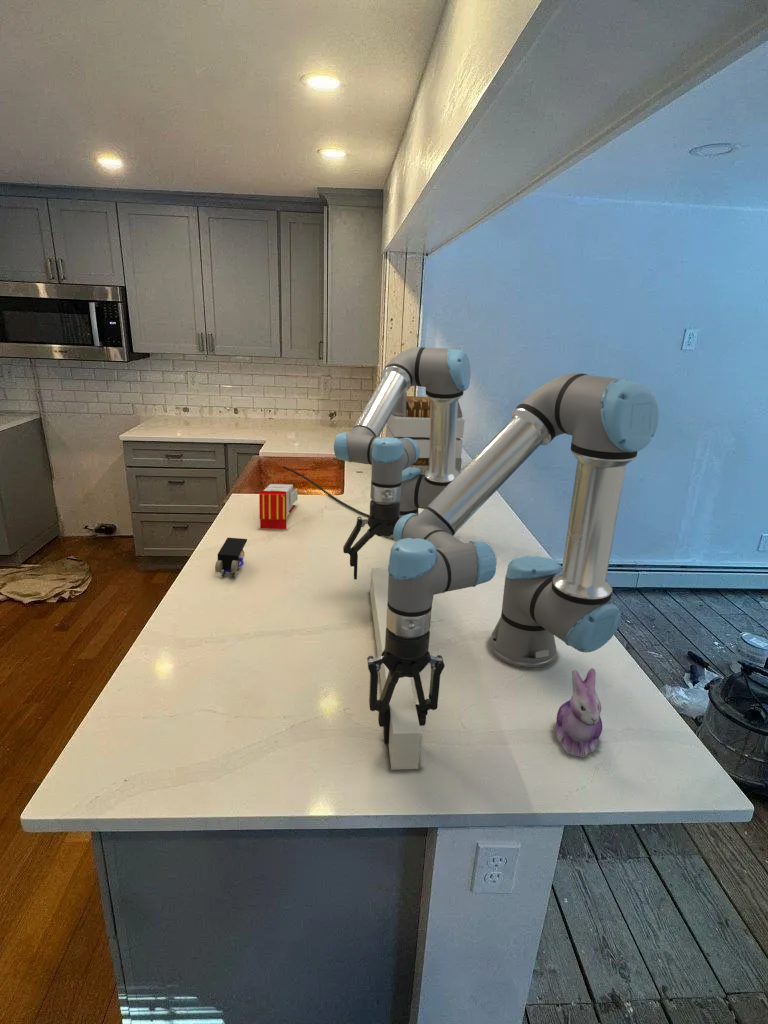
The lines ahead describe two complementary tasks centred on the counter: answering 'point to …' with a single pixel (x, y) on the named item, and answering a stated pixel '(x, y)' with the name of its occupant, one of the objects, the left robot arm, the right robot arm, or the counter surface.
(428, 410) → the transformer
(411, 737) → the beam
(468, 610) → the counter surface
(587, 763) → the counter surface
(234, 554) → the black wheeled rover
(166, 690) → the counter surface
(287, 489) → the toy
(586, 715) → the figurine
